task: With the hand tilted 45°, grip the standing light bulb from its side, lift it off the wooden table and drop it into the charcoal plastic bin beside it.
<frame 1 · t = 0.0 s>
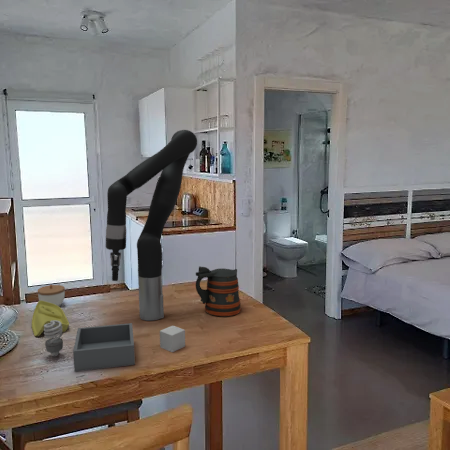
hand: (115, 277, 175), 17 cm above the table, tool pointing down, fingers open, 8 cm apart
light bulb: (55, 356, 148), on the table
beer stein: (218, 312, 186), on the table
plastic component: (50, 326, 172), on the table
bin: (105, 354, 148), on the table
light grey cube: (172, 347, 154), on the table
lidded jar: (52, 306, 193), on the table
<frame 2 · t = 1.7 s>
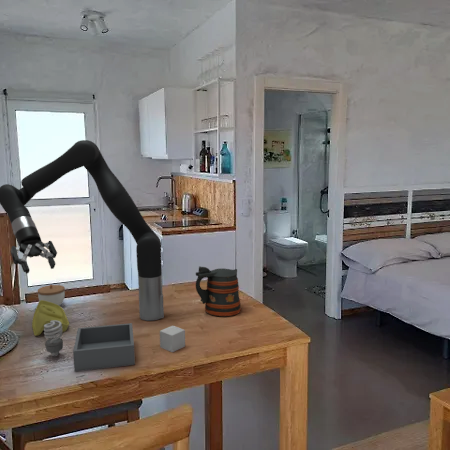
hand: (40, 269, 155), 26 cm above the table, tool tilted 45°, fingers open, 8 cm apart
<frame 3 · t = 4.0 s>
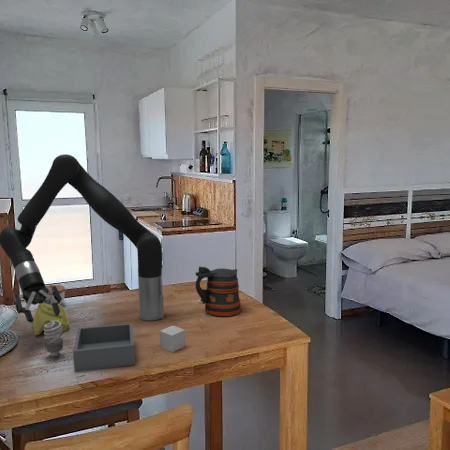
hand: (45, 318, 150), 11 cm above the table, tool tilted 45°, fingers open, 8 cm apart
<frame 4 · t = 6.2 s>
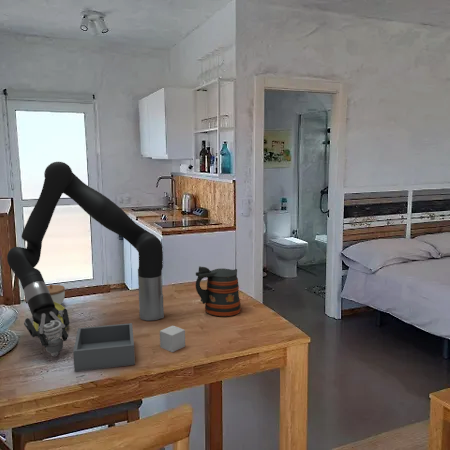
hand: (56, 342, 145), 5 cm above the table, tool tilted 45°, fingers closed on light bulb, 5 cm apart
light bulb: (55, 356, 148), on the table, touching gripper
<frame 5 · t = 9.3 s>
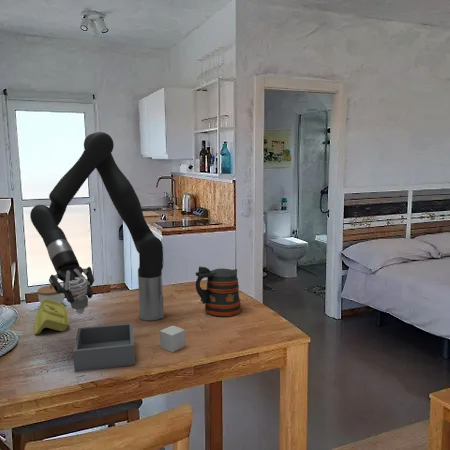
hand: (81, 299, 144), 19 cm above the table, tool tilted 45°, fingers closed on light bulb, 5 cm apart
light bulb: (80, 314, 146), point 14 cm above the table, touching gripper
when the fingers open (9 cm above the table, at t = 12.4 s): light bulb drops 3 cm, resting on bin.
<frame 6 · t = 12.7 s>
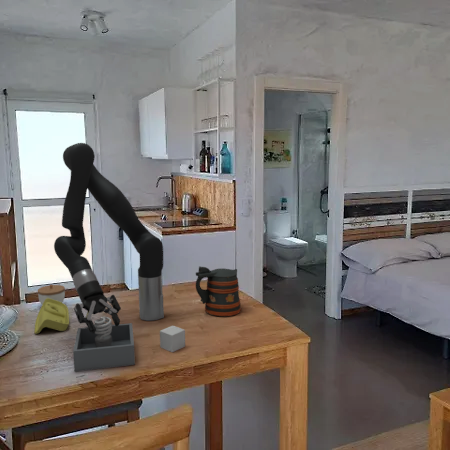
hand: (106, 328, 146), 10 cm above the table, tool tilted 45°, fingers open, 8 cm apart
light bulb: (103, 352, 148), point 1 cm above the table, touching bin
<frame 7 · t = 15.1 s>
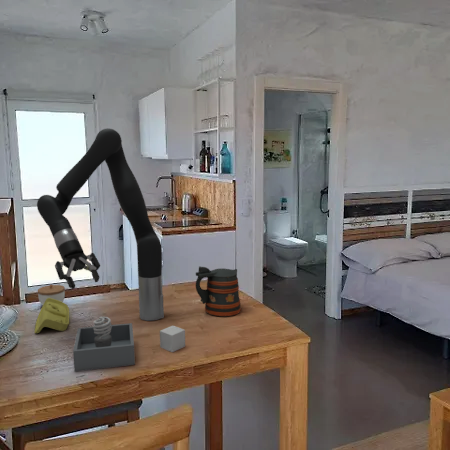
hand: (85, 284, 155), 21 cm above the table, tool tilted 40°, fingers open, 8 cm apart
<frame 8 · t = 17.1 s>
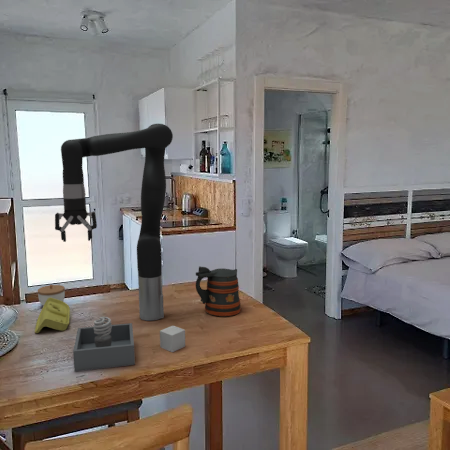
hand: (77, 240, 165), 33 cm above the table, tool pointing down, fingers open, 8 cm apart
at the end: light bulb inside the target area on the bin (0.5 cm from its centre), point 0.8 cm above the bin's base; the gripper is holding nothing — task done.
